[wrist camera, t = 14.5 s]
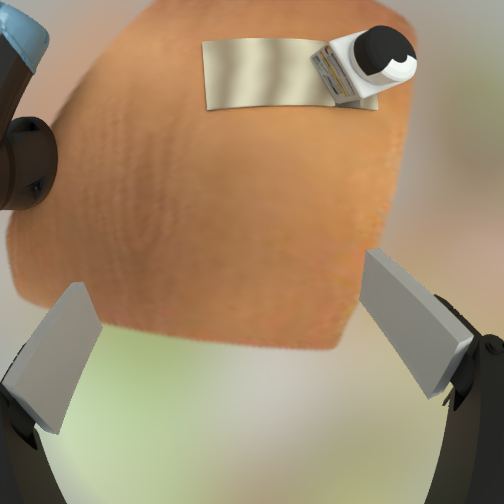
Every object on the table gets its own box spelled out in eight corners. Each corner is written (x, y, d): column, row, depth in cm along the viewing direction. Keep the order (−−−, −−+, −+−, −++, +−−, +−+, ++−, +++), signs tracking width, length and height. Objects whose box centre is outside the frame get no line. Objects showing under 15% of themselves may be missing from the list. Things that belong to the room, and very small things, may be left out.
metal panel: (207, 110, 32) (207, 109, 30) (202, 44, 27) (202, 41, 26) (374, 110, 33) (378, 110, 32) (368, 50, 29) (371, 49, 28)
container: (308, 57, 28) (349, 25, 17) (351, 42, 27) (401, 14, 16) (336, 104, 31) (388, 95, 20) (376, 87, 30) (435, 76, 19)
